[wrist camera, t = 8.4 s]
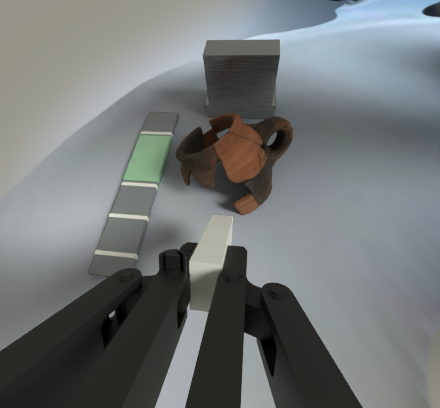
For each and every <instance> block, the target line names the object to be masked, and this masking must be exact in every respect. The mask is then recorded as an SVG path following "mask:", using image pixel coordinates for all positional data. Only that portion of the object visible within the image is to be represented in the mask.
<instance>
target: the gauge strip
mask: <svg viewBox="0 0 440 408" xmlns="http://www.w3.org/2000/svg"><path fill="white" fill-rule="evenodd" d="M178 117H179V116H178V113H170V112H150V113H149V115H148V118H147V120H146V123H145V126H144V128H143V131H142V132H141V135H140V136H139V139H138V141H137V144H136V147H135V149H134V152H133V154H132V157H131V159H130V162H129V165H128V167H127V170H126V172H125V175H124V178H123V182H122V183H121V188H120V191H119V193H118V196H117V198H116V201H115V203H114V206H113V209H112V211H111V213H110V214H109V219H108V222H107V224H106V227H105V229H104V232H103V235H102V237H101V240H100V242H99V245H98V248H97V250H95V253H94V254H95V255H94V258H93V261H92V263H91V266H90V268H89V271H88V273H89V274H92V275H101V276H111V275H113V274H114V273H116V272H118V271H119V270H122V269H126V268H134V267H135V264H136V261H137V259H138V254H139V250H140V247H141V243H142V240H143V237H144V233H145V230H146V226H147V223H148V221H149V216H150V213H151V209H152V206H153V202H154V199H155V195H156V192H157V190H158V185H159V183H160V180H161V176H162V173H163V169H164V166H165V163H166V159H167V156H168V152H169V149H170V145H171V142H172V138H173V134H174V130H175V127H176V123H177V120H178Z"/></svg>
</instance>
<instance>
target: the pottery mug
mask: <svg viewBox="0 0 440 408" xmlns="http://www.w3.org/2000/svg"><path fill="white" fill-rule="evenodd" d="M209 122H210V124H211V126H212V129H211V130H209V131H207V132H206V133H205V134H204V135H203V132H202V129H201V127H198V128H196V129H195V130H194V131H193V132H191V133H190V134H189V135H188V136H187V137H186V138H185V139H184V140H183V141H182V143H181V144H180V146H179V148H178V149H177V151H176V158H177V159H178V160H179V161H180V162H181V163H182V165H181V172H182V176H183V179H184V181H185V183H186V185H187V186H189V185H190V175H191V173H192V176H193V177H194V178H195V179H196V180H197V181H199V182H200V183H201V185H202V186H203V187H208V188H212V187H214V185H215V184H214V180H213V176H214V173H215V169H216V167H217V165H218V163H219V161H220V162H221V164H222V166H223V168H224V170H225V172H226V175H227V178H228V179H229V180H231V181H232V182H234V183H240V182H243V184H244V185H245V186H246V187H247V188H248V189H249V193H248V194H247V195H246V196H244V197H242V198H241V199H239V200H237V201H235V202H234V206H235V208H236V209H237V210H238V211H239V213H240V214H241V215H245V214H247V213H250V212H251V211H253V210H255V209H256V208H258V207H259V206H260V205H261V204H262V203H263V202H264V201H265V200H266V199H267V198H268V196H269V194H270V192H271V189H272V167H273V165H274V163H275V162H276V161H277V159H279V158H280V157H281V156H282V155H283V154H284V153H285V151H286V150H287V149H288V147H289V145H290V143H291V141H292V131H293V129H292V127H291V126H290V123H289V122H288V121H287V120H286V119H283V118H281V117H271V118H268V119H265V120H264V121H262V122H260V123H257V124H250V125H248V124H244V123H243V122H242V119H241V116H240V115H239V114H237V113H226V114H223V115H220V116H217V117H215V118H213V119H211V120H210V121H209ZM227 128H230V129H229V130H228V132H227V134H225V135H224V136H223V137H222V138H220V139H218V137H217V135H216V134H217V133H219V132H221V131H223V130H225V129H227ZM276 131H277V136H276V139H275V141H274V142H273V144H272V145H270V146H267V142H268V140H269V138H270V137H271V135H272V134H273V133H275V132H276ZM205 148H206V149H205Z"/></svg>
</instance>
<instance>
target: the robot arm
mask: <svg viewBox="0 0 440 408" xmlns="http://www.w3.org/2000/svg"><path fill="white" fill-rule="evenodd" d="M232 223H233V216H224V215H212V217H211V219H210V221H209V223H208V225H207V227H206V229H205V231H204V233H203V235H202V237H201V239H200V241H199V243H190V242H187V243H186V244H184V245H183V246H182V247H181V248H180V250H177V249H171V250H166V251H164V252H162V253H160V254H159V269H160V270H159V272H158V273H157V274H156V275H152V276H143V277H142V274H141V272H140V270H138V269H135V268H126V269H122V270H119V271H118V272H116V273H114V274H113V275H111V276H110V277H108V278H107V279H105V280H104V281H102V282H101V283H99V284H98V285H97V286H95V287H94V288H92V289H91V290H89V291H88V292H86V293H85V294H83V295H82V296H80V297H79V298H78V299H76V300H75V301H73V302H72V303H70V304H69V305H67V306H66V307H64V308H63V309H61V310H60V311H59V312H57V313H56V314H54V315H53V316H51V317H50V318H48V319H47V320H45V321H44V322H42V323H41V324H40V325H38V326H37V327H35V328H34V329H32V330H31V331H29V332H28V333H26V334H25V335H23V336H22V337H21V338H19V339H18V340H16V341H15V342H13V343H12V344H10V345H9V346H7V347H6V348H4V349H3V350H2V351H0V408H155V405H156V402H157V400H158V397H159V394H160V391H161V388H162V386H163V383H164V380H165V377H166V374H167V372H168V369H169V366H170V363H171V360H172V358H173V355H174V352H175V349H176V346H177V344H178V341H179V338H180V335H181V332H182V330H183V327H184V324H185V321H186V318H187V307H188V304H189V302H190V309H191V310H198V311H206V312H209V314H208V318H207V322H206V326H205V330H204V334H203V338H202V342H201V346H200V350H199V354H198V358H197V362H196V366H195V370H194V374H193V378H192V382H191V386H190V390H189V394H188V398H187V402H186V406H185V408H240V407H241V385H242V362H243V340H244V332H245V333H247V334H249V335H252V336H254V337H256V338H257V344H258V348H259V351H260V354H261V358H262V361H263V365H264V368H265V372H266V375H267V378H268V382H269V385H270V389H271V392H272V396H273V399H274V402H275V406H276V408H362V406H361V404H360V403H359V401H358V399H357V398H356V396H355V395H354V393H353V391H352V390H351V388H350V386H349V385H348V383H347V381H346V380H345V378H344V376H343V375H342V373H341V372H340V370H339V368H338V367H337V365H336V363H335V362H334V360H333V358H332V357H331V355H330V354H329V352H328V350H327V349H326V347H325V345H324V344H323V342H322V340H321V339H320V337H319V335H318V334H317V332H316V331H315V329H314V327H313V326H312V324H311V322H310V321H309V319H308V317H307V316H306V314H305V312H304V311H303V309H302V308H301V306H300V304H299V303H298V301H297V299H296V298H295V296H294V294H293V293H292V291H291V290H290V289H289V288H288V287H286V286H284V285H282V284H279V283H267V284H265V285H264V286H263V287H262V288H260V287H257V286H255V285H253V284H251V283H250V282H249V281H248V280H247V278H246V266H247V250H246V249H245V248H244V247H240V246H231V243H232ZM114 310H115V315H114V316H113V317H111V318H109V314H110V313H112V312H113V311H114Z"/></svg>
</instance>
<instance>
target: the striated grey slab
mask: <svg viewBox="0 0 440 408" xmlns="http://www.w3.org/2000/svg"><path fill="white" fill-rule="evenodd" d="M279 58H280V40H207V42H206V46H205V50H204V53H203V60H204V68H205V76H206V84H207V92H208V94H207V98H206V103H205V107H206V114H207V117H217V116H220V115H223V114H226V113H237V114H239V115H240V116H241V118H261V119H268V118H271V117H274V113H275V107H276V76H277V70H278V64H279Z"/></svg>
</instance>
